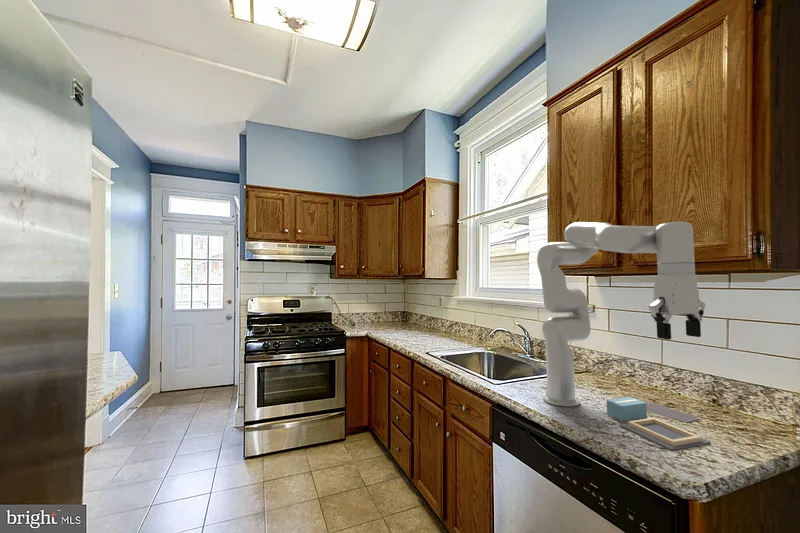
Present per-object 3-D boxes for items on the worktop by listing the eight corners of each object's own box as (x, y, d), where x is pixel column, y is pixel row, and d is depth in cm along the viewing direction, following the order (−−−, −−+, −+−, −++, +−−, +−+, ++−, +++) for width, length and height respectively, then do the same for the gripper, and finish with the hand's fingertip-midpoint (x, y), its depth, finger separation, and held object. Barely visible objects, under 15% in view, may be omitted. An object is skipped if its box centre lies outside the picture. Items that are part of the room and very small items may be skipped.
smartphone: (686, 421, 110) (637, 405, 123) (686, 424, 110) (637, 408, 123) (699, 417, 113) (651, 402, 126) (700, 420, 112) (651, 404, 126)
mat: (620, 426, 108) (619, 420, 108) (655, 420, 112) (655, 415, 112) (671, 451, 93) (671, 444, 93) (710, 443, 96) (710, 437, 96)
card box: (622, 421, 112) (621, 405, 112) (607, 414, 118) (606, 399, 118) (646, 418, 115) (646, 402, 115) (630, 411, 120) (630, 396, 121)
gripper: (686, 270, 95) (689, 333, 94) (635, 271, 91) (638, 337, 90) (717, 269, 88) (720, 337, 87) (664, 270, 83) (667, 342, 83)
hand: (679, 337), depth 89 cm, fingers open, 9 cm apart
